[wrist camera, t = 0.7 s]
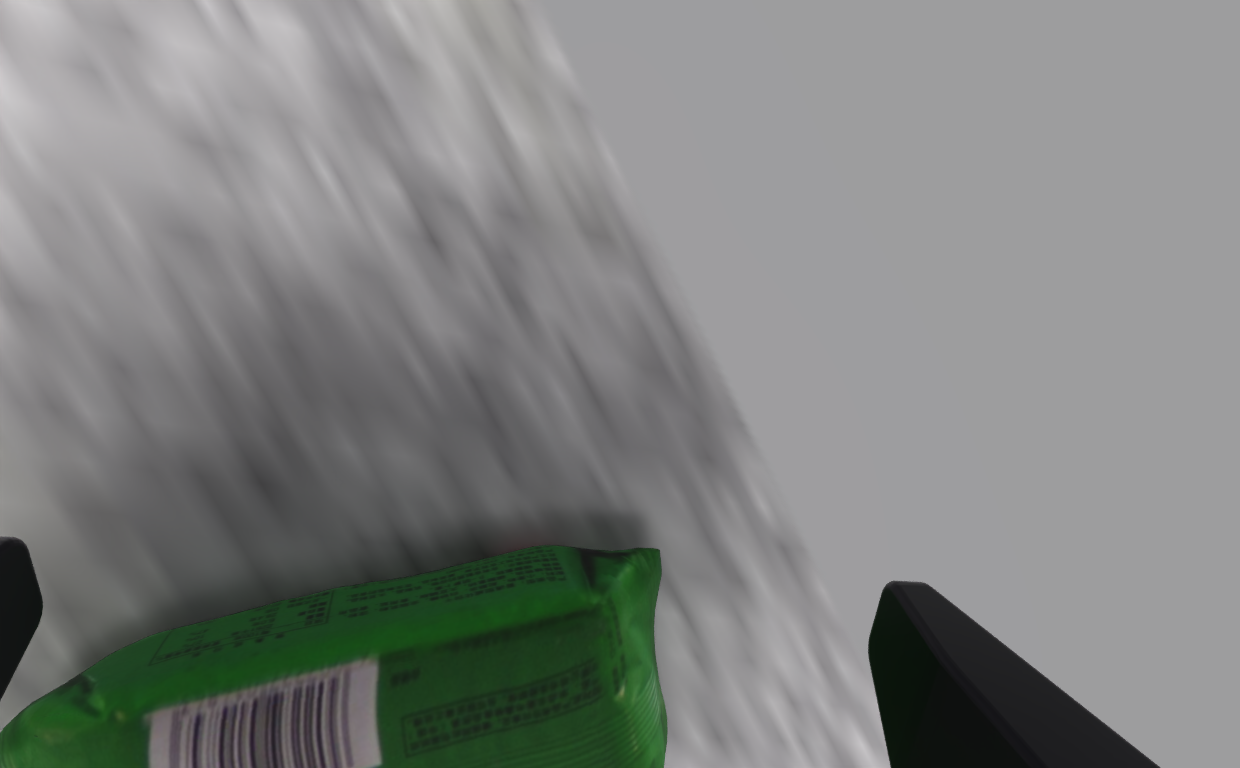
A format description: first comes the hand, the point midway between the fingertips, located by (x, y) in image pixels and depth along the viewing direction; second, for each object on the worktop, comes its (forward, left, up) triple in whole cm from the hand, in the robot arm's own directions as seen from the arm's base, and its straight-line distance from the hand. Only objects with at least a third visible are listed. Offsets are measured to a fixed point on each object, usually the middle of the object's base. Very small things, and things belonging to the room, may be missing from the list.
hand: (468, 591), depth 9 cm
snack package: (-8, -3, -13) cm, 16 cm away
